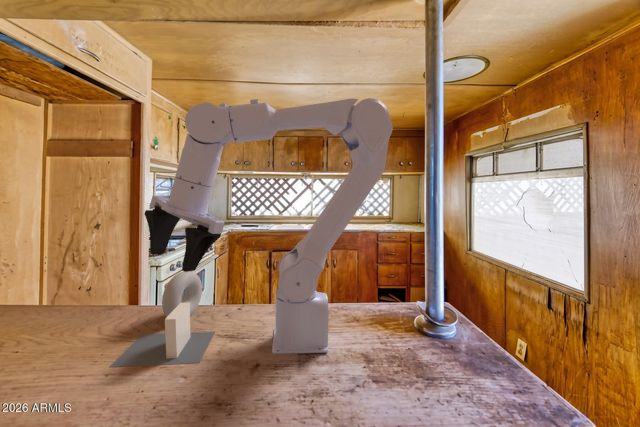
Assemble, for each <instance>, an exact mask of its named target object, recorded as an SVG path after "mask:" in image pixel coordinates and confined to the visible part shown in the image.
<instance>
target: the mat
mask: <svg viewBox="0 0 640 427" xmlns="http://www.w3.org/2000/svg"><path fill="white" fill-rule="evenodd" d="M215 333H216V331H202V332H201V331H199V332H195V331H194V332H191V337H190V339H189V340H188V342H187V343H186V345H185V346H184V348H183V349H182V351H181V352H180V354H179V356H178V357H177V358H166V338H165V333H143V334H140V335H139V337H138V338H137V339H135V340H134V341H133V342H132V343H131V344H130V346H128V348H126V349H125V350H124V351H123V353H122V354H120V356H118V358H116V360H115V361H114V362H113V363H112V364H111V365H110V366H109V368H120V367H121V368H122V367H144V366H145V367H146V366H168V365H189V364H190V365H191V364H192V365H193V364H200V363H201V360H202V359H203V356H204V355H205V354H206V351H207V349H208V347H209V346H210V343H211V341H212V339H213V337H214V335H215Z"/></svg>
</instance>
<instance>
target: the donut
mask: <svg viewBox="0 0 640 427" xmlns="http://www.w3.org/2000/svg"><path fill="white" fill-rule="evenodd" d="M202 292H203V284H202V281H201V278H200V276H199V275H197V274H196V272H194V271H189V272H184V271H180V272H179V273H176V274H175V275H173V277H172V278H171V279H170V280H169V281H168V283H167V284H166V285H165V288H164V289H163V293H162V299H161V306H162V312H163V313H164V315H165V317H166V318H167V316H168V315H169V314H170V313H171V312H172V311H173V310H174V309H175V308H176V307H177V306H178V305H179V304H180V303H190V316H191V315H192V314H193V313H194V312H195V311H196V309H197V308H198V306H199V304H200V302H201V298H202V296H203V295H202V294H203V293H202ZM183 293H184V296H183ZM182 296H183V298H182Z"/></svg>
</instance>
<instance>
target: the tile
mask: <svg viewBox="0 0 640 427" xmlns="http://www.w3.org/2000/svg"><path fill="white" fill-rule="evenodd" d="M164 332H165V333H164V334H165V338H166V358H177V357H178V356H179V354H180V352H181V351H182V349H183V348H184V346H185V345H186V343H187V342H188V340H189V339H190V337H191V333H192V332H191V315H190V303H180V304H179V305H178V306H177V307H176V308H175V309H174V310H173V311H172V312H171V313H170V314H169V315H168V316H167V317H166V318H165V319H164Z"/></svg>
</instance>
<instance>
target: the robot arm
mask: <svg viewBox="0 0 640 427" xmlns="http://www.w3.org/2000/svg"><path fill="white" fill-rule="evenodd" d="M358 101H359V98H346V99H340V100H333V101H328V102H327V101H326V102H321V103H312V104H307V105H299V106H294V107H293V106H292V107H285V108H279V109H275V108H274V107H273V106H271V105H270V104H269V103H267V102H259V99H258V98H257V99H256V98H255V99H254V98H253V99H249V103H247V104H237V105H236V104H235V105H234V104H233V105H227V103H226V102H224V103H219V107H218V106H217V105H215V104H214V103H212V102H208V101H204V102H202V103H198V104H195V105H193V106H192V107H191V108H189V109H188V111H187V113H186V115H185V118H184V124H185V128H186V131H187V134H186V137H185V140H184V145H183V148H182V150H181V152H180V153H181V154H180V158H179V161H178V166H177V168H176V169H177V170H176V173H175V176H174V179H173V183H172V187H171V192H170V194H169V198H167V197H165V196H160V195H152V196H151V198H150V203H149V207H151V208H152V209H151V210H150V209H146V210H144V216H145V219H146V221H147V226H148V230H149V251H150V254H151V255H163V254H165V252H166V250H167V249H168V246H169V243H170V240H171V236H172V235H173V232H174V230H175V228H176V226H177V225H178V223H179V221H180V220H181V219H182V220H184V221H186V222H188V223H191V224H193V225H195V226H197V227H195V226H193V227H191V226H190V227H187V226H185V228H184V233H185V251H184V255H183V260H182V266H181V269H182V271H181V272H183V271H184V272H189V271H191V272H194V271H196V269H197V268H198V265H199V264H200V262H201V261H202V259H203V258H204V256H205V254H206V253H207V251H209V249H210V248H211V247H212V246H213V245H214V244H215V243H216V242H217V241H218V240H219V239H221V235H222V234H223V230H224V227H225V223H226V222H225V221H224V220H221V219H219V218H217V217H215V216H214V215H212V214H211V213H209V212H207V209H208V207H209V202H210V200H211V196H212V192H213V188H214V185H215V182H216V179H217V178H216V177H217V173H218V170H219V166H220V164H221V158H222V153H223V151H224V147H226V146H227V145H228V144H229V143H230V142H231V143H233V144H239V143H247V142H248V143H249V142H257V141H266V140H272V139H273V138H274V136H275V135H276V133H278V132H279V131H291V130H303V129H304V130H306V129H319V128H321V129H325V130H326V131H328V132H329V133H331V134H332V135H334V136H335V137H336V136H337V135H338V134H339V137H340V138H341V140H342V142H343V143H344V145H345V146H346V148H347V150H348V151H349V155H350V158H351V161H352V167H351V169H350V170H349V172H347V175H346V176H345V178H344V179H343V181H342V182H341V184H340V185H339V186H338V188H337V190H336V191H335V193H333V195H332V197H331V198H330V200H329V201H328V203H327V204H326V205H325V207H324V208H323V210H322V212H320V214H319V216H318V217H317V219H316V220H315V221H314V223H313V224H312V226H311V228H310V229H309V230H308V232H307V233H306V234H305V236H304V237H303V238H302V239H301V240H299V241H298V242H297V244H296V245H295V246H294V248H293V249H292V250H290V251H288V252H287V253H285V254H283V256H282V257H281V258H280V259H279V261H278V267H277V270H278V283H277V285H278V288H277V289H276V290H275V326H274V329H273V339H272V346H271V347H272V348H271V354H273V355H279V354H281V355H283V354H284V355H285V354H300V355H301V354H317V353H318V354H319V353H321V354H322V353H328V352H329V346H328V345H329V314H330V313H329V298H328V294H327V293H326V292H320V291H317V287H318V280H319V277H320V275H321V274H322V272H323V270H324V268H325V263H326V259H327V256H328V254H329V252H330V251H331V250H332V248H333V246H334V245H335V243H336V242H337V241H338V239H339V238H340V236H341V235H342V233H343V232H344V230H345V229H346V228H347V226H348V225H349V223H350V222H351V220H352V219H353V218H354V216H355V215H356V213H357V212H358V210H359V208H361V206H362V205H363V203H364V201H365V200H366V199H367V197H368V196H369V194H371V191H372V189H374V187H375V185H376V184H377V182H378V181H379V180H380V178H381V177H382V175H383V174H384V172H385V169H386V166H387V165H386V164H387V158H388V157H387V156H388V148H389V142H390V141H389V140H390V137H391V136H392V133H393V130H394V127H393V124H392V119H391V116H390V112H389V109H388V108H387V106H386V105H385V103H384V102H382V101H381V100H379V99H377V98H374V97H373V98H370V97H368V98H364V99H361V100H360V101H359V102H358ZM355 104H356V105H355Z"/></svg>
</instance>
